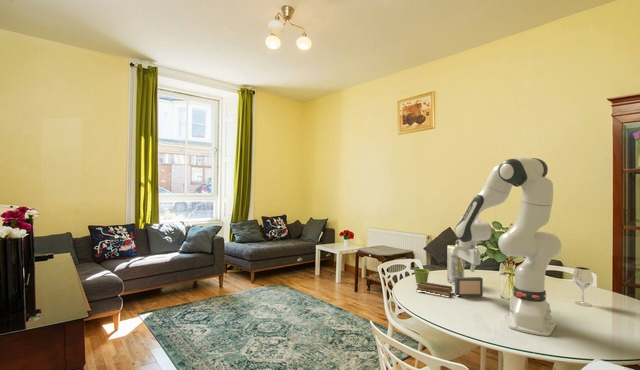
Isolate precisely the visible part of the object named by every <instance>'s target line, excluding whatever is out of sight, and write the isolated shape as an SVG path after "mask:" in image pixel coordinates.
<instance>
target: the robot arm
mask: <svg viewBox="0 0 640 370" xmlns="http://www.w3.org/2000/svg"><path fill="white" fill-rule="evenodd" d="M548 168H549V167H548V165H547V163H546V162H545V161H544V160H542V159H540V158H535V157H532V158H531V157H530V158H529V157H518V158H509V159H506V160H504V161H502V162H501V163H500V164H498V165H495V166H494V168H492V170H491V172H489V175H488V177H487V179H486V181H485V184H484V186H483V188H482V189H481V190H480V192H479V193H477V194H476V196H475V197H473V198H472V200H471V202H470V204H469V205H468V207H467V209H466V211H465V212H464V214H463V215H461V217H460V220H459V222H458V223H456V226H455V229H454V234H455V237H456V238H457V240H456V241H455V245H456V244H457V247H456V249H457V256H458V257H460V258H461V262H462V267H464V268H467V263H469V264H470V267H469V271H470V272H471V273H475V271H476V270H475V269H476V267H477V266H479V265H481V264H482V263H481V260H482V259H481V252H480V250H479V249H478V242H481V241H488V240H490V239H491V238H492V236H493V228H492V226H491V225H490V224H489V223H487V222H486V221H483V220H481V219H480V218H479V215H480V214H481V213H483V211H485V210H487V209H489V208H493V207H496V206H498V205H501V204H503V203H504V202H506V200H507V199H508V197H509V195H510V193H511V191H512V188H513V186H514V188H515V187H517V188H518V187H520V188H521V189H522V195H521V201H520V206H519V211H518V215H517V218H516V220H515V222H514V223H513V224H512V225H511V227H510V228H509V229H507V230H506V231H505V232H503V233H502V234H501V235H500V236H499V238H498V242H497V244H498V248H499V250H500V252H501V253H502V254H503V255H504V256H509V257H514V258H524V261H523V262H522V263H520V264H519V265H517V266H516V267H515V270H514V286H513V290H512V291H513V296H511V297H510V298H509V308H508V312H509V313H508V312H506V313H504V318H505V320H506V323H507V326H508V328H510V329H513V330H516V331H517V332H523V333H525V334H526V333H527V334H531V335H537V336H543V337H544V336H546V337H549V336H550V335H552V332H554V329H556V327H557V323H556V322H554V321H553V320H552V315H551V313H552V310H551V304H550V303H548V301H547V292H546V290H545V286H546V285H545V282H546V281H545V280H546V279H545V278H546V270H547V268H548V267H549V264H550V262H551V261H552V259H553V258H554V257H555V256H557V255H559V253H560V252H561V250H562V243H561V240H560V238H559V237H558V236H557V235H556V234H554V233H550V232H546V231H545V232H544V231H538V230H539V229H541V228H542V227H544V226H546V225H547V224H548V223H549V221H550V217H551V211H552V207H553V202H554V201H553V199H554V184H553V182H552V180H551V179H549V178H548V177H546V176H547V174H548V170H549V169H548ZM475 241H476V242H475ZM476 249H477V250H476ZM466 262H467V263H466Z"/></svg>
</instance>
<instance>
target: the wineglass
mask: <svg viewBox="0 0 640 370" xmlns="http://www.w3.org/2000/svg"><path fill="white" fill-rule="evenodd" d="M572 281H573V283H574V284H575V285H577V286H578V287H579V288H580V289H581V301H578V300H577V301H574V304H575V305H579V306H583V307H591V306H592V304H591V303H589V302H585V290H586V289H587V288H589V287H591V286H592V285H593V284H594V277H593V274H592V272H591V269H590V268H588V267H584V266H576V267H575V268H574V270H573V274H572Z"/></svg>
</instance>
